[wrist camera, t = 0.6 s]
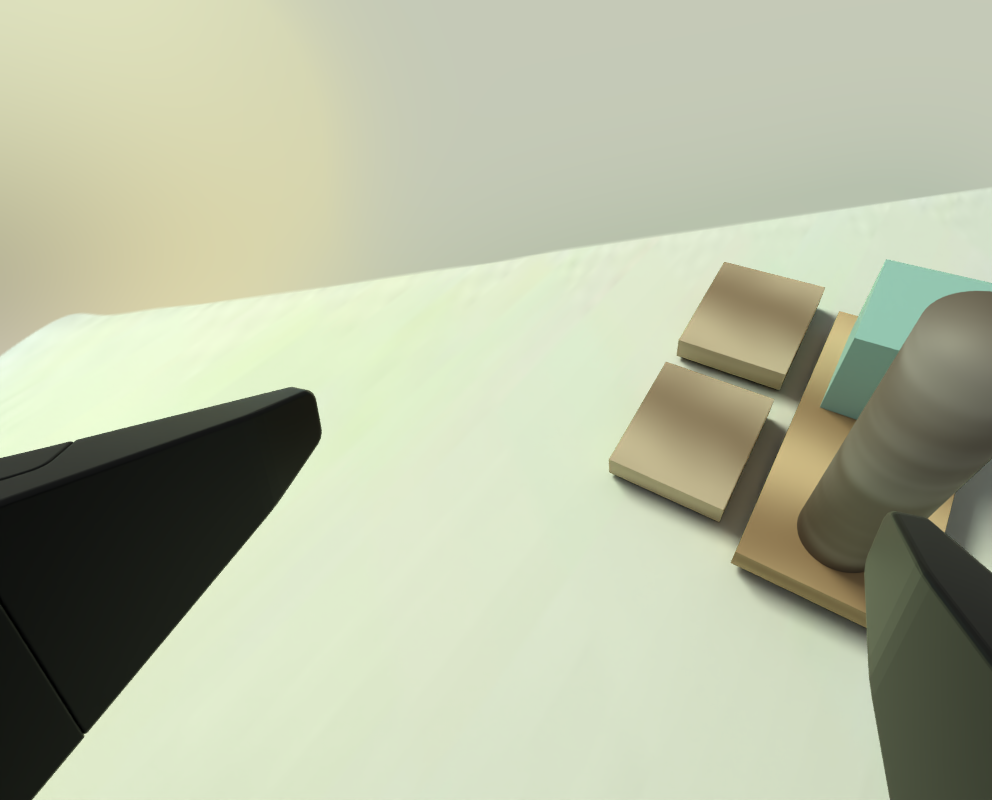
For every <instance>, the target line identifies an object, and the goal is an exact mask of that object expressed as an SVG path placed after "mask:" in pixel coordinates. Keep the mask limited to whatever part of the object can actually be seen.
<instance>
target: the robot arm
mask: <svg viewBox="0 0 992 800" xmlns="http://www.w3.org/2000/svg"><path fill="white" fill-rule="evenodd" d="M321 434H322V429H321V423H320V418H319V413H318V407H317V402H316V398H315V396H314V394H313V393H312V392H311V391H309V390H304V389H299V388H295V387H289V388H285V389H281V390H277V391H272V392H268V393H264V394H260V395H256V396H252V397H248V398H244V399H240V400H236V401H232V402H228V403H224V404H220V405H216V406H212V407H208V408H204V409H200V410H196V411H192V412H188V413H184V414H179V415H175V416H171V417H167V418H163V419H159V420H155V421H151V422H147V423H143V424H139V425H135V426H131V427H127V428H123V429H119V430H115V431H111V432H107V433H103V434H99V435H95V436H91V437H86V438H82V439H78V440H76V441H75V442H66V443H62V444H58V445H54V446H50V447H46V448H41V449H37V450H33V451H29V452H25V453H20V454H16V455H12V456H8V457H3V458H0V800H32V799H33V798H34V797H35V796H36V795H37V793H38V792H39V791H40V790H41V789H42V787H43V786H44V785H45V784H46V783H47V781H48V780H49V779H50V778H51V777H52V775H53V774H54V773H55V772H56V771H57V769H58V768H59V767H60V766H61V765H62V763H63V762H64V761H65V760H66V759H67V757H68V756H69V755H70V754H71V753H72V751H73V750H74V749H75V748H76V747H77V745H78V744H79V743H80V742H81V741H82V739H83V738H84V734H86V733H87V732H88V731H89V730H90V729H91V728H92V727H93V725H94V724H95V723H96V722H97V721H98V719H99V718H100V717H101V716H102V715H103V713H104V712H105V711H106V710H107V709H108V707H109V706H110V705H111V704H112V703H113V701H114V700H115V699H116V698H117V697H118V695H119V694H120V693H121V692H122V691H123V689H124V688H125V687H126V686H127V685H128V683H129V682H130V681H131V680H132V679H133V677H134V676H135V675H136V674H137V673H138V671H139V670H140V669H141V668H142V667H143V665H144V664H145V663H146V662H147V661H148V659H149V658H150V657H151V656H152V655H153V653H154V652H155V651H156V650H157V649H158V647H159V646H160V645H161V644H162V642H163V641H164V640H165V639H166V638H167V636H168V635H169V634H170V633H171V632H172V630H173V629H174V628H175V627H176V626H177V624H178V623H179V622H180V621H181V620H182V618H183V617H184V616H185V615H186V614H187V612H188V611H189V610H190V609H191V608H192V606H193V605H194V604H195V603H196V602H197V600H198V599H199V598H200V597H201V596H202V594H203V593H204V592H205V591H206V590H207V588H208V587H209V586H210V585H211V584H212V582H213V581H214V580H215V579H216V578H217V576H218V575H219V574H220V573H221V572H222V570H223V569H224V568H225V567H226V566H227V564H228V563H229V562H230V561H231V560H232V558H233V557H234V556H235V555H236V554H237V552H238V551H239V550H240V549H241V548H242V546H243V545H244V544H245V543H246V542H247V540H248V539H249V538H250V537H251V536H252V534H253V533H254V532H255V531H256V530H257V528H258V527H259V526H260V525H261V524H262V522H263V521H264V520H265V519H266V518H267V516H268V515H269V514H270V513H271V511H272V510H273V509H274V507H275V506H276V505H277V503H278V502H279V501H280V499H281V498H282V496H283V495H284V493H285V492H286V490H287V489H288V488H289V486H290V485H291V483H292V482H293V480H294V479H295V477H296V476H297V474H298V473H299V471H300V470H301V468H302V467H303V465H304V464H305V463H306V461H307V460H308V458H309V457H310V455H311V454H312V452H313V451H314V449H315V448H316V446H317V445H318V443H319V441H320V439H321ZM864 577H865V600H866V624H867V647H868V668H869V681H870V688H871V695H872V701H873V707H874V712H875V718H876V724H877V729H878V735H879V741H880V746H881V752H882V758H883V763H884V769H885V774H886V780H887V786H888V791H889V797H890V800H992V572H991V571H989V570H988V569H987V568H986V567H985V566H983V565H982V564H981V563H980V562H979V561H978V560H976V559H975V558H974V557H973V556H972V555H971V554H969V553H968V552H967V551H966V550H965V549H963V548H962V547H961V546H960V545H959V544H958V543H956V542H955V541H954V540H953V539H952V538H951V537H949V536H948V535H947V534H946V533H945V532H943V531H942V530H941V529H940V528H939V527H938V526H936V525H935V524H934V523H933V522H932V521H930V520H929V519H928V518H925V517H922V516H917V515H912V514H907V513H902V512H897V511H891V512H889V513H887V514H886V516H885V517H884V519H883V521H882V523H881V525H880V528H879V530H878V532H877V535H876V537H875V539H874V542H873V544H872V546H871V549H870V551H869V553H868V556H867V559H866V563H865V572H864Z"/></svg>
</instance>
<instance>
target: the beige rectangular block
mask: <svg viewBox="0 0 992 800" xmlns="http://www.w3.org/2000/svg"><path fill="white" fill-rule="evenodd" d="M824 290H825V287H821V286H817V285H813V284H809V283H805V282H801V281H797V280H793V279H790V278H786V277H782V276H778V275H774V274H770V273H766V272H762V271H758V270H754V269H750V268H746V267H742V266H739V265H735V264H731V263H727V262H724V263H723V265H722V267H721V269H720V270H719V272H718V274H717V275H716V277H715V279H714V280H713V282H712V284H711V286H710V287H709V289H708V291H707V292H706V294H705V296H704V298H703V299H702V301H701V303H700V304H699V306H698V308H697V310H696V311H695V313H694V315H693V316H692V318H691V320H690V322H689V323H688V325H687V327H686V328H685V330H684V332H683V334H682V335H681V337H680V339H679V342H678V350H677V356H680V357H683V358H685V359H688V360H691V361H694V362H697V363H700V364H703V365H706V366H709V367H712V368H715V369H718V370H721V371H724V372H727V373H730V374H733V375H736V376H739V377H742V378H745V379H748V380H751V381H753V382H756V383H759V384H762V385H765V386H768V387H771V388H774V389H777V390H780V388H781V386H782V384H783V381H784V379H785V377H786V375H787V373H788V370H789V368H790V366H791V364H792V362H793V359H794V357H795V355H796V353H797V351H798V349H799V346H800V344H801V342H802V340H803V338H804V335H805V333H806V331H807V329H808V327H809V324H810V322H811V320H812V318H813V316H814V313H815V311H816V309H817V307H818V305H819V302H820V300H821V297H822V295H823V292H824ZM773 401H774V399H772V398H769V397H766V396H764V395H761V394H758V393H755V392H752V391H749V390H746V389H743V388H740V387H738V386H735V385H732V384H729V383H726V382H723V381H720V380H717V379H714V378H712V377H709V376H706V375H703V374H700V373H697V372H694V371H691V370H688V369H686V368H683V367H680V366H677V365H674V364H671V363H668V362H666V363H665V364H664V366H663V368H662V369H661V371H660V373H659V375H658V376H657V378H656V380H655V381H654V383H653V385H652V387H651V388H650V390H649V392H648V393H647V395H646V397H645V399H644V400H643V402H642V404H641V405H640V407H639V409H638V411H637V412H636V414H635V416H634V417H633V419H632V421H631V423H630V424H629V426H628V428H627V429H626V431H625V433H624V434H623V436H622V438H621V440H620V441H619V443H618V445H617V446H616V448H615V450H614V452H613V453H612V455H611V457H610V458H609V472H610V473H612V474H614V475H616V476H619V477H621V478H623V479H625V480H627V481H630V482H632V483H634V484H636V485H638V486H641V487H643V488H645V489H647V490H649V491H652V492H654V493H656V494H658V495H660V496H663V497H665V498H667V499H669V500H671V501H674V502H676V503H678V504H680V505H682V506H685V507H687V508H689V509H691V510H693V511H696V512H698V513H700V514H702V515H704V516H707V517H709V518H711V519H713V520H715V521H718V522H720V519H721V517H722V515H723V513H724V511H725V508H726V506H727V504H728V502H729V500H730V498H731V495H732V493H733V491H734V489H735V487H736V484H737V482H738V480H739V478H740V476H741V473H742V471H743V469H744V467H745V465H746V462H747V460H748V458H749V456H750V454H751V452H752V449H753V447H754V445H755V443H756V441H757V438H758V436H759V434H760V432H761V430H762V427H763V425H764V423H765V421H766V419H767V416H768V414H769V412H770V409H771V406H772V404H773Z"/></svg>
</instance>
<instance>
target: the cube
mask: <svg viewBox="0 0 992 800" xmlns="http://www.w3.org/2000/svg"><path fill="white" fill-rule="evenodd" d="M966 291H991V292H992V283H989V282H985V281H980V280H976V279H971V278H967V277H962V276H958V275H953V274H949V273H945V272H940V271H936V270H931V269H927V268H922V267H918V266H914V265H909V264H905V263H900V262H896V261H891V260H887V259H886V261H885V263H884V265H883V267H882V269H881V271H880V273H879V275H878V277H877V279H876V281H875V283H874V285H873V287H872V289H871V291H870V294H869V296H868V298H867V300H866V302H865V304H864V306H863V308H862V310H861V312H860V314H859V316H858V318H857V320H856V322H855V324H854V326H853V328H852V330H851V333H850V335H849V337H848V339H847V342H846V344H845V347H844V349H843V352H842V354H841V356H840V359H839V361H838V364H837V366H836V369H835V371H834V374H833V376H832V378H831V381H830V383H829V386H828V388H827V391H826V393H825V396H824V398H823V400H822V403H821V405H820V407H821V408H824V409H826V410H829V411H832V412H835V413H838V414H841V415H844V416H847V417H850V418H853V419H856V420H857V419H858V417H859V415H860V414H861V412H862V411H863V409H864V407H865V406H866V404H867V402H868V401H869V399H870V398H871V396H872V394H873V393H874V391H875V389H876V388H877V386H878V385H879V383H880V381H881V380H882V378H883V376H884V375H885V373H886V371H887V370H888V368H889V367H890V365H891V363H892V362H893V360H894V358H895V357H896V355H897V354H898V352H899V350H900V349H901V347H902V345H903V344H904V342H905V341H906V339H907V337H908V336H909V334H910V332H911V331H912V329H913V327H914V326H915V324H916V323H917V321H918V319H919V318H920V316H921V314H922V313H923V312H924V310H925V309H926V308H927V307H928V306H929V305H930V304H932V303H933V302H935V301H936V300H938V299H940V298H942V297H944V296H947V295H950V294H954V293H959V292H966Z"/></svg>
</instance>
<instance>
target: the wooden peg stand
mask: <svg viewBox="0 0 992 800" xmlns="http://www.w3.org/2000/svg"><path fill="white" fill-rule="evenodd" d="M857 318H858V316H855V315H851V314H848V313H844V312H840V311H839V313H838V315H837V318H836V320H835V322H834V324H833V327H832V329H831V331H830V334H829V336H828V338H827V341H826V343H825V345H824V348H823V350H822V352H821V355H820V357H819V359H818V361H817V364H816V366H815V368H814V371H813V373H812V375H811V378H810V380H809V382H808V385H807V387H806V389H805V392H804V394H803V396H802V399H801V401H800V403H799V406H798V408H797V410H796V412H795V415H794V417H793V419H792V422H791V424H790V426H789V429H788V431H787V433H786V436H785V438H784V440H783V443H782V445H781V447H780V450H779V452H778V454H777V457H776V459H775V461H774V463H773V466H772V468H771V470H770V473H769V475H768V477H767V480H766V482H765V484H764V487H763V489H762V491H761V494H760V496H759V498H758V501H757V503H756V505H755V508H754V510H753V512H752V515H751V517H750V519H749V521H748V524H747V526H746V528H745V531H744V533H743V535H742V538H741V540H740V542H739V545H738V547H737V549H736V552H735V554H734V556H733V559H732V561H731V563H732V564H735V565H737V566H739V567H741V568H743V569H745V570H747V571H749V572H751V573H753V574H755V575H757V576H759V577H762V578H764V579H766V580H768V581H770V582H772V583H774V584H776V585H778V586H780V587H782V588H784V589H786V590H789V591H791V592H793V593H795V594H797V595H799V596H801V597H803V598H805V599H807V600H809V601H811V602H813V603H816V604H818V605H820V606H822V607H824V608H826V609H828V610H830V611H832V612H834V613H836V614H838V615H840V616H843V617H845V618H847V619H849V620H851V621H853V622H855V623H857V624H859V625H861V626H863V627H865V628H867V624H866V600H865V577H864V572H865V563H866V559H867V556H868V553H869V551H870V549H871V546H872V544H873V542H874V539H875V537H876V535H877V532H878V530H879V528H880V525H881V523H882V521H883V519H884V517H885V516H886V514H887V513H889V512H891V511H897V512H902V513H907V514H912V515H917V516H922V517H925V518H928V519H929V520H930V521H932V522H933V523H934V524H935V525H936V526H938V527H939V528H940V529H941V530H942V531H943V532H945V530H946V526H947V522H948V518H949V514H950V510H951V506H952V502H953V499H954V495H955V492H957V491H958V490H959V489H960V488H961V487H962V486H963V485H964V484H965V483H966V482H967V481H968V480H969V479H970V478H971V477H973V476H974V475H975V474H976V473H977V472H978V471H979V470H980V469H981V468H982V467H983V466H984V465H985V464H986V463H988V462H989V461H990V460H991V459H992V292H991V291H966V292H959V293H954V294H950V295H947V296H944V297H942V298H940V299H938V300H936V301H935V302H933V303H932V304H930V305H929V306H928V307H927V308H926V309H925V310H924V312H923V313H922V314H921V316H920V318H919V319H918V321H917V323H916V324H915V326H914V327H913V329H912V331H911V332H910V334H909V336H908V337H907V339H906V341H905V342H904V344H903V345H902V347H901V349H900V350H899V352H898V354H897V355H896V357H895V358H894V360H893V362H892V363H891V365H890V367H889V368H888V370H887V371H886V373H885V375H884V376H883V378H882V380H881V381H880V383H879V385H878V386H877V388H876V389H875V391H874V393H873V394H872V396H871V398H870V399H869V401H868V402H867V404H866V406H865V407H864V409H863V411H862V412H861V414H860V415H859V417H858V419H857V420H856V419H853V418H850V417H847V416H844V415H841V414H838V413H835V412H832V411H829V410H826V409H824V408H821V407H820V405H821V403H822V400H823V398H824V396H825V393H826V391H827V388H828V386H829V383H830V381H831V378H832V376H833V374H834V371H835V369H836V366H837V364H838V361H839V359H840V356H841V354H842V352H843V349H844V347H845V344H846V342H847V339H848V337H849V335H850V333H851V330H852V328H853V326H854V324H855V322H856V320H857Z"/></svg>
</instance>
